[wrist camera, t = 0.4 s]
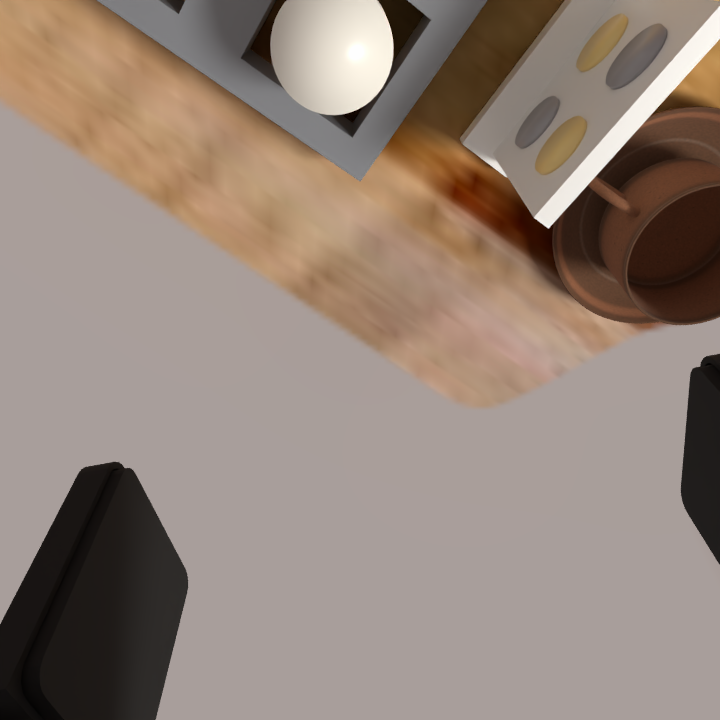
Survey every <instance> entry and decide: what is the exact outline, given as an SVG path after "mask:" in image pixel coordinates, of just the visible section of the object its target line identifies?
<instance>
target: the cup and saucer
mask: <svg viewBox="0 0 720 720" xmlns="http://www.w3.org/2000/svg"><path fill="white" fill-rule="evenodd" d="M552 246H553V255H554V261H555V265H556V268H557V271H558V274H559V276H560V278H561V280H562V282H563V284H564V286H565V287H566V289H567V290H568V292H569V293H570V294H571V295H572V296H573V298H574V299H575V300H576V301H578V302H579V303H580V304H581V305H582V306H584V307H585V308H586V309H588V310H590V311H591V312H593V313H595V314H597V315H599V316H602V317H604V318H607V319H610V320H614V321H619V322H625V323H641V324H642V323H655V322H662V323H666V324H672V325H692V324H698V323H703V322H707V321H710V320H713V319H716V318H718V317H720V109H718V108H711V107H684V108H677V109H671V110H666V111H663V112H659V113H655V114H653V115H650V117H649V118H648V119H647V120H646V121H645V122H644V123H643V124H642V125H641V127H640V128H639V129H638V130H637V131H636V132H635V133H634V134H633V135H632V137H631V138H630V139H629V140H628V141H627V142H626V143H625V144H624V145H623V147H622V148H621V149H620V150H619V151H618V152H617V153H616V154H615V155H614V157H613V158H612V159H611V160H610V161H609V162H608V163H607V164H606V165H605V167H604V168H603V169H602V170H601V171H600V172H599V173H598V174H597V175H596V176H595V178H594V179H593V180H592V181H591V182H590V183H589V184H588V185H587V186H586V188H585V189H584V190H583V191H582V192H581V193H580V194H579V195H578V196H577V198H576V199H575V200H574V201H573V202H572V203H571V204H570V205H569V206H568V208H567V209H566V210H565V211H564V212H563V213H562V214H561V215H560V216H559V218H558V219H557V220H556V221H555V222H554V225H553V235H552Z"/></svg>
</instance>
